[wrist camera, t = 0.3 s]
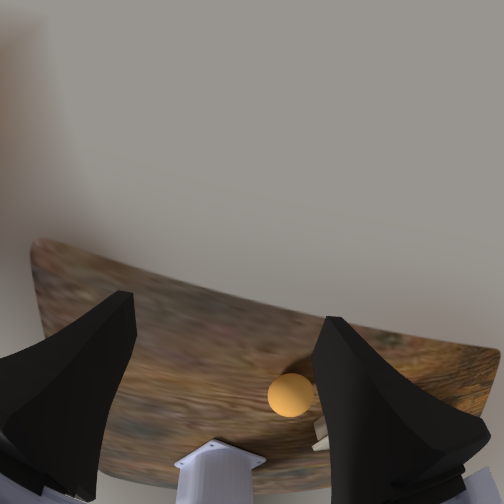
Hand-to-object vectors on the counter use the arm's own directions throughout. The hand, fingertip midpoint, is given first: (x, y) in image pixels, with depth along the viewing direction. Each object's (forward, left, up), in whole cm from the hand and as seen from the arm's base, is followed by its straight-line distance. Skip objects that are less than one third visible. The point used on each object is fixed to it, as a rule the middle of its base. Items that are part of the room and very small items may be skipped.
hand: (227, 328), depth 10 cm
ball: (-7, -12, -9) cm, 16 cm away
